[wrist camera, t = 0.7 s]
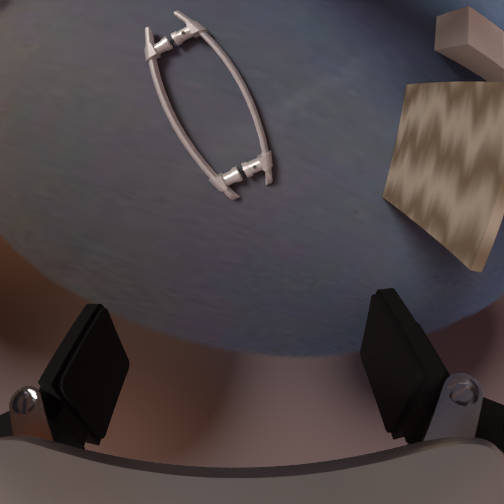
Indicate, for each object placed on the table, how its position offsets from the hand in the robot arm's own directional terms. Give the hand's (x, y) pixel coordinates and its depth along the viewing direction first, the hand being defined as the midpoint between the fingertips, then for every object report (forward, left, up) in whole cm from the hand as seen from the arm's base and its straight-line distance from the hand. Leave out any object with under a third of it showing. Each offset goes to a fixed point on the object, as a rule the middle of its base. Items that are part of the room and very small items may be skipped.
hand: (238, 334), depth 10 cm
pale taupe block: (-26, +28, -29) cm, 48 cm away
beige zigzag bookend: (-8, +27, -29) cm, 40 cm away
